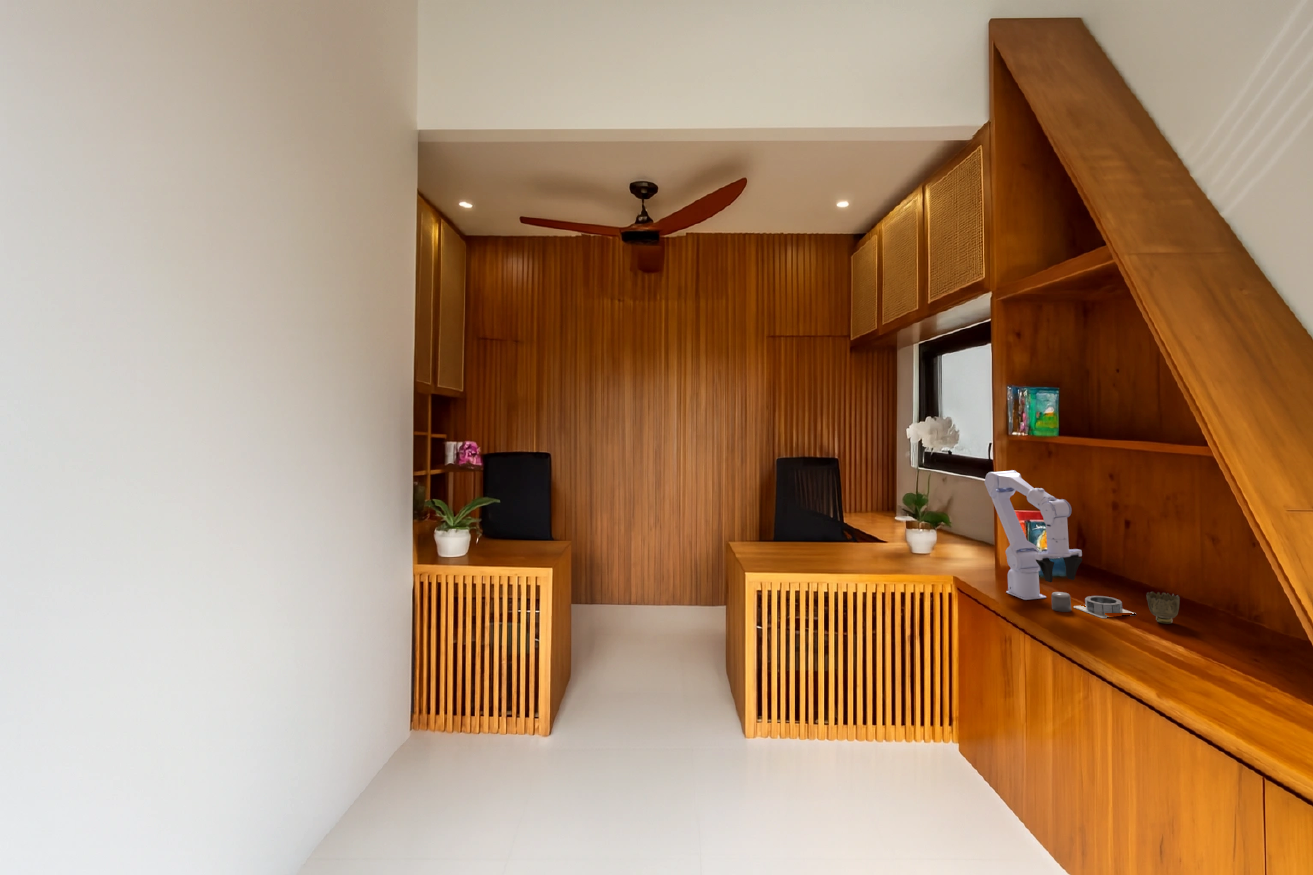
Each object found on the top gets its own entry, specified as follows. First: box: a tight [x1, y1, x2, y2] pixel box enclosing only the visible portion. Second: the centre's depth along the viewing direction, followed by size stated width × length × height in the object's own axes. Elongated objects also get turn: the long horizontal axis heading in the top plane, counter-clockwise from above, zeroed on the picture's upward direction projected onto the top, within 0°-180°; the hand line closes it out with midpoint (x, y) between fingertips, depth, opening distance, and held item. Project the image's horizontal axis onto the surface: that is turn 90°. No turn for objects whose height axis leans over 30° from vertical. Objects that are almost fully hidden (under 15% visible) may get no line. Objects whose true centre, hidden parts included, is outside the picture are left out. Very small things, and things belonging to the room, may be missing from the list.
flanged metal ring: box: [1073, 595, 1137, 619], centre depth 182 cm, size 11×11×3 cm
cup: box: [1145, 591, 1181, 625], centre depth 170 cm, size 8×7×8 cm
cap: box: [1051, 591, 1072, 613], centre depth 186 cm, size 5×5×5 cm
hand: (1059, 580), depth 186 cm, fingers open, 7 cm apart
